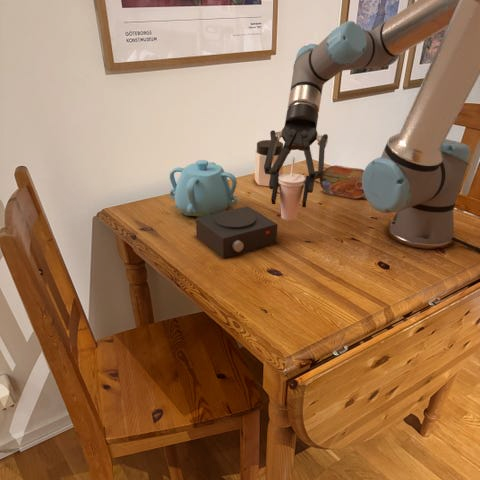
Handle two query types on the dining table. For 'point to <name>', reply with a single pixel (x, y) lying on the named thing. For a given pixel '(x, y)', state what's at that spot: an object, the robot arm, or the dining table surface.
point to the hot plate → (236, 231)
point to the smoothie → (290, 193)
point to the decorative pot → (202, 189)
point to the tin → (343, 181)
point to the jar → (260, 161)
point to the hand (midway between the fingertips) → (288, 203)
